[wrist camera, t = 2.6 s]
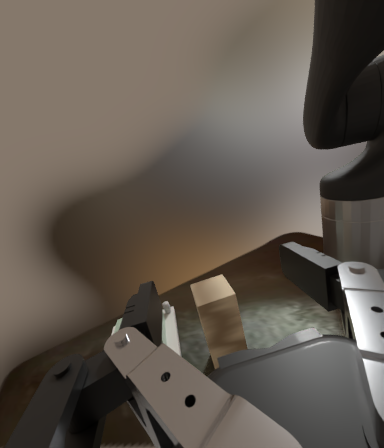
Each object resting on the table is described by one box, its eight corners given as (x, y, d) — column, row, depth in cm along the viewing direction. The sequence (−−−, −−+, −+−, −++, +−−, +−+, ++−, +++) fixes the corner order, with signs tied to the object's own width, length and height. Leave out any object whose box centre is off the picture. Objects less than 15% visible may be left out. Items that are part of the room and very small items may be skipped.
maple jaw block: (238, 342, 30) (222, 274, 27) (252, 370, 26) (235, 293, 22) (209, 353, 29) (190, 285, 26) (219, 383, 25) (197, 306, 22)
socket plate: (174, 310, 40) (169, 296, 39) (182, 364, 29) (176, 346, 28) (115, 330, 39) (109, 316, 38) (99, 395, 27) (89, 377, 26)
